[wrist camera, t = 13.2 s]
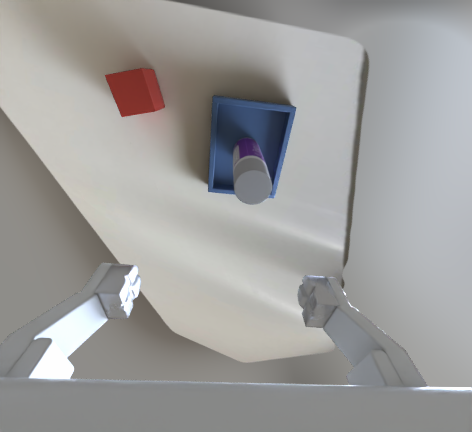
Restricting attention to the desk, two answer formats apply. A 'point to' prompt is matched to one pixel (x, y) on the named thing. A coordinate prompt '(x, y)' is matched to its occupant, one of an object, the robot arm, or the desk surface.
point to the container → (250, 172)
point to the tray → (247, 125)
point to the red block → (135, 91)
